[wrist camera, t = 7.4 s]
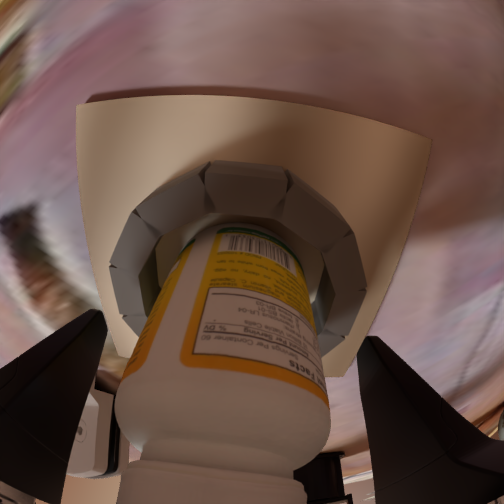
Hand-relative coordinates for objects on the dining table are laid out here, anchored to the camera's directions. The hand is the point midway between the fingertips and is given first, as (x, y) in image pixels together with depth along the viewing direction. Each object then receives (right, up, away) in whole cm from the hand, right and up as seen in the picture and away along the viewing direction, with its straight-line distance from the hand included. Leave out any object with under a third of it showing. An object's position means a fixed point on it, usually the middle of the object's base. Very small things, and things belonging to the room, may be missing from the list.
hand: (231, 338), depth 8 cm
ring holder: (0, +2, +3) cm, 4 cm away
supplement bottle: (0, +2, +3) cm, 4 cm away
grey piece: (-17, -12, +12) cm, 24 cm away
